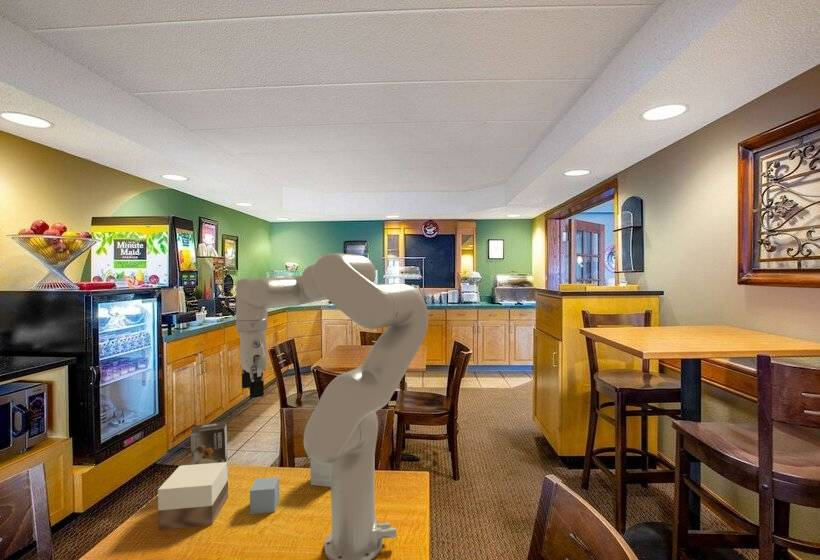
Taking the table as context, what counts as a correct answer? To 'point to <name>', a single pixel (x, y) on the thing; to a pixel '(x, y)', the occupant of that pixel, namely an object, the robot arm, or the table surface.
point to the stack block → (264, 495)
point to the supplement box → (320, 474)
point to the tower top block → (193, 486)
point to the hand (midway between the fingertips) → (252, 392)
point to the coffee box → (209, 443)
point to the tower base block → (193, 514)
